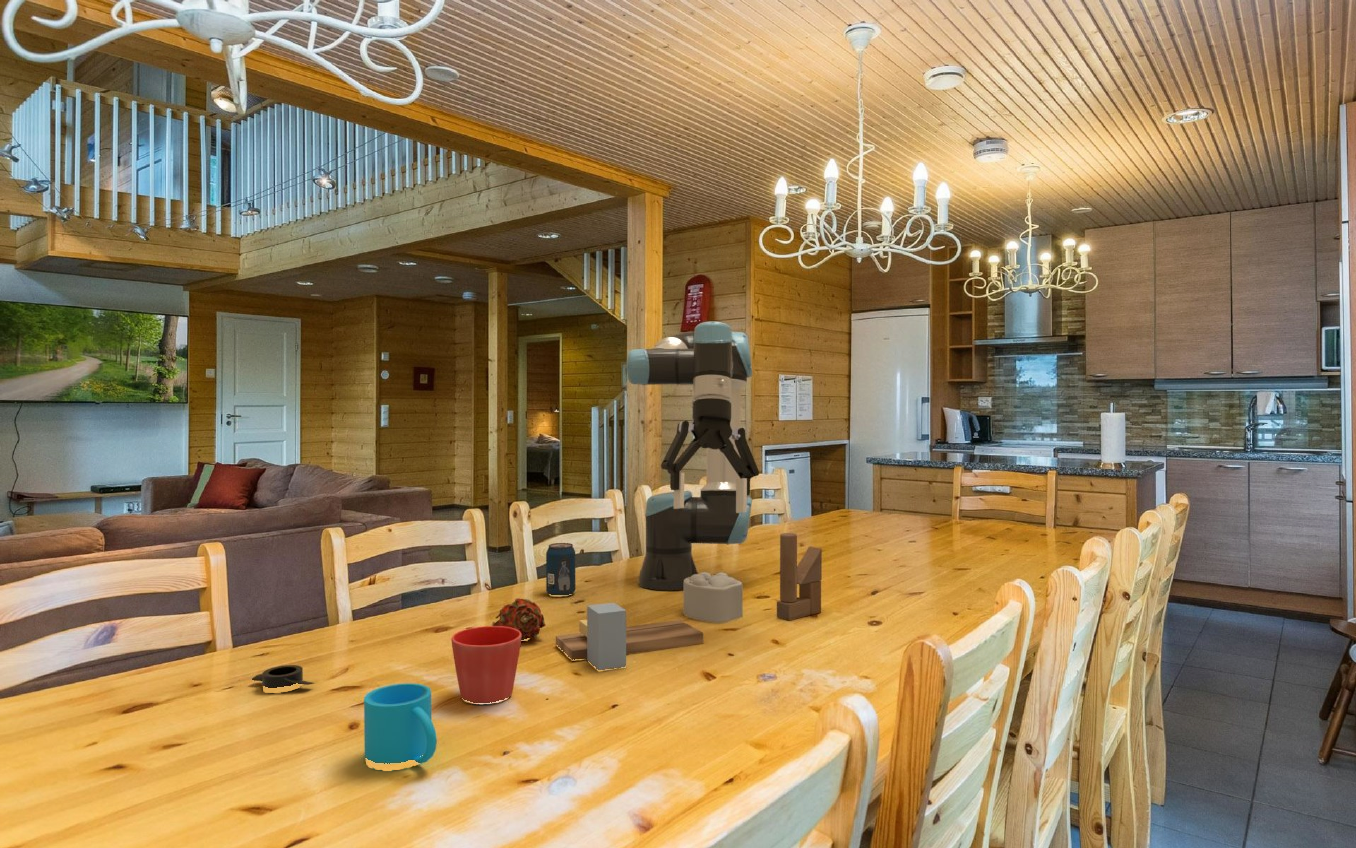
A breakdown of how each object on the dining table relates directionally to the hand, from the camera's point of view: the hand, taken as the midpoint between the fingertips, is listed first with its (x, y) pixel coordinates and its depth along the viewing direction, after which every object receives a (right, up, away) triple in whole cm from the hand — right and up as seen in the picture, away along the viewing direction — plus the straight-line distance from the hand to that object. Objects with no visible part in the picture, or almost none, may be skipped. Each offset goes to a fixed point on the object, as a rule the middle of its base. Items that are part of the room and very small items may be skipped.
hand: (710, 510), depth 149 cm
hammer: (-21, -26, -7) cm, 34 cm away
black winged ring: (-70, -26, -22) cm, 78 cm away
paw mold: (+1, -25, +22) cm, 34 cm away
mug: (-41, -27, -48) cm, 69 cm away
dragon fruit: (-37, -26, +4) cm, 45 cm away
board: (-15, -25, 0) cm, 30 cm away
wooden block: (+20, -25, +22) cm, 39 cm away
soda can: (-34, -25, +40) cm, 58 cm away
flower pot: (-36, -26, -26) cm, 52 cm away
